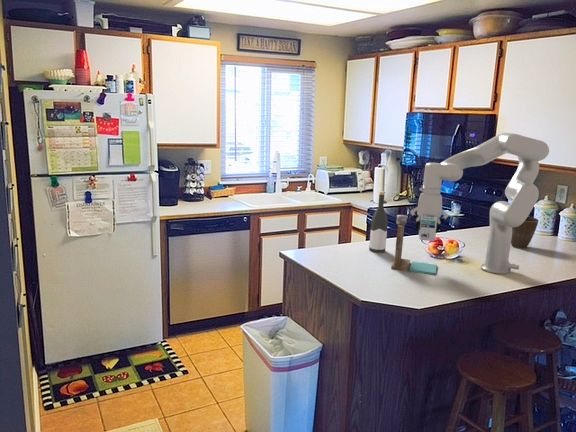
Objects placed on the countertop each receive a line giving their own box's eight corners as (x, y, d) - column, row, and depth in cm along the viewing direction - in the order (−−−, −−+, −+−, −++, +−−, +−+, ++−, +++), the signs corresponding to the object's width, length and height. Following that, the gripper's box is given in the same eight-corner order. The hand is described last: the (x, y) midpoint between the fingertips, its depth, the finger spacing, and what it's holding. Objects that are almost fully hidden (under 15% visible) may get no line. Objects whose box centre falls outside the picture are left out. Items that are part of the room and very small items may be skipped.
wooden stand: (409, 262, 231) (414, 214, 226) (407, 270, 219) (412, 219, 214) (394, 260, 233) (398, 212, 228) (390, 268, 221) (395, 218, 216)
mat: (436, 266, 227) (436, 264, 227) (435, 274, 215) (435, 273, 215) (412, 263, 230) (412, 261, 230) (409, 271, 218) (409, 269, 218)
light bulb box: (435, 241, 214) (438, 217, 212) (419, 240, 215) (421, 216, 213) (433, 235, 224) (435, 212, 222) (418, 234, 225) (420, 211, 223)
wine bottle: (384, 248, 253) (389, 190, 246) (385, 253, 245) (391, 193, 238) (368, 247, 253) (373, 189, 247) (369, 252, 246) (374, 192, 239)
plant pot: (539, 251, 261) (544, 221, 258) (511, 250, 261) (515, 220, 258) (526, 244, 276) (530, 215, 272) (499, 242, 276) (503, 214, 272)
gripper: (410, 190, 214) (406, 230, 218) (452, 194, 209) (447, 235, 213) (411, 188, 221) (408, 226, 225) (452, 192, 216) (447, 231, 220)
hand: (427, 230), depth 219 cm, fingers closed on light bulb box, 7 cm apart
